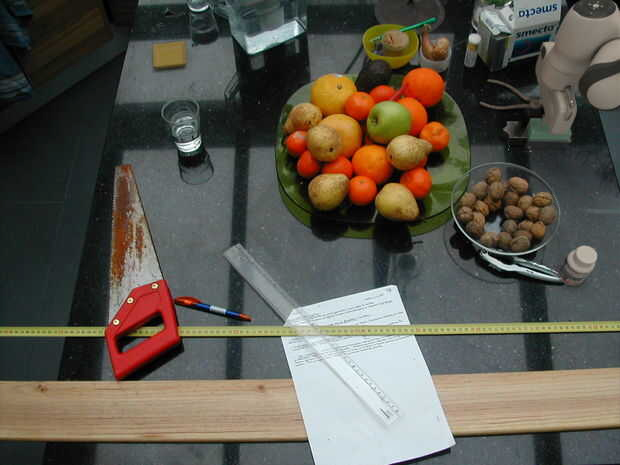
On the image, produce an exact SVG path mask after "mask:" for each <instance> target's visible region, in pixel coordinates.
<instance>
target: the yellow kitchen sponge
mask: <svg viewBox="0 0 620 465" xmlns="http://www.w3.org/2000/svg"><path fill="white" fill-rule="evenodd" d="M186 48H187V47H186V41H183V40H181V41H172V42H164V43H154V44H153V45H152V52H153V53H152V60H153V61H152V63H153V64H152V65H153V67H154V68H156V69H167V68H178V67H183V66H185V65H186V64H187V50H186Z"/></svg>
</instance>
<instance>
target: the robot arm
mask: <svg viewBox="0 0 620 465" xmlns="http://www.w3.org/2000/svg"><path fill="white" fill-rule="evenodd" d="M539 52H540V53H539V55H538V58H537V60H536V64H535V76H536V80H537V85H538V88H539V93H540V94H539V100H540V101H539V105H538V109H544V111H545V114H542V116H541V118H540V120H541V124H542V125H548V129H549V133H550V134H555V135H563V134H567V133H568V132H569V130H570V129H571V127H572V125H573V123H574V121H575V118H576V116H577V111H578V105H577V101H576V98H575V97H576V96H575V93H574V91H575V90H578V93H579V95H580V96H581V98H582V100H583V101H584V103H585V104H587V105H588V106H589V107H591V108H593V109H595V110H597V111H600V112H619V111H620V8H619V7H618V5H617V3H616V2H614V1H613V0H578V1H576V3H575V4H573V6H571V8H570V9H569V10H568V12H567V13H566V14H565V17H564V18H563V20H562V22H561V24H560V26H559V28H558V31H557V32H556V34H555V37H554V41H545V42H544V41H543V42H542V44H541V46H540V51H539Z"/></svg>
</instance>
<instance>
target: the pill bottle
mask: <svg viewBox="0 0 620 465" xmlns="http://www.w3.org/2000/svg"><path fill="white" fill-rule="evenodd" d="M597 260H598V253H597V251H596V249H594V248H593V247H591V246H588V245H581V246H579V247H577V248H576V249H573V250H572V251H570V252H569V253H568V255H567V256H566V257H565V258H564V260H562V261H561V263H560V265H559V266H558V268H557V274H558V273H559V275H560V277H561V278H562V280H561V282H563V283H564V284H566V285H568V286H577V285H580V284H581V283H582V282H583V281H584V280H585V279H586V278H587V277H588V275H589V274H590V273H591V272H592V271H593V270H594V268H595V266H596V262H597ZM559 275H558V276H559ZM560 277H559V278H560Z"/></svg>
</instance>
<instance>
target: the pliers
mask: <svg viewBox="0 0 620 465" xmlns="http://www.w3.org/2000/svg"><path fill="white" fill-rule="evenodd" d="M486 82H487V83H492V84H497V85H500V86H503V87H505V88H507V89H509V90H510V91H511V92H512V93H514V94H515V95H516V96H518V97H519V98H520V99H522V100H523V101H524V102H527V103H522V104H521V103H520V104H513V105H506V106H497V105H492V104H488V103H485V102H483V101H480V102H479V105H480V106H483V107H485V108H489V109H492V110H497V111H498V110H499V111H508V110H520V109H523V110H525V109H528V108H535V109H538V105H539V101H540V99H537V98H534V97H529V96H527V95H526V94H524V93H522V92H520V90H518V89H517V88H515V87H513V86H512V85H511V84H508V83H506V82H503V81H500V80H496V79H487V81H486Z"/></svg>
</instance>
